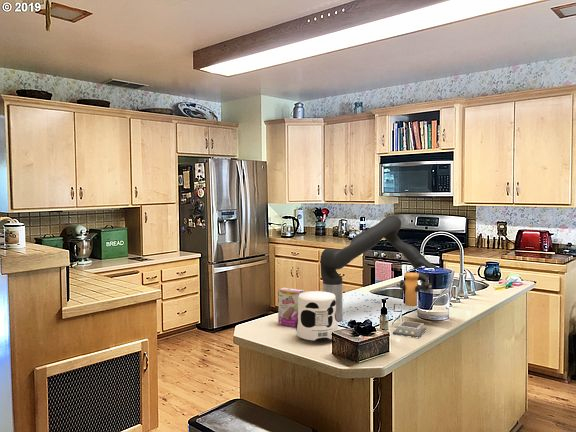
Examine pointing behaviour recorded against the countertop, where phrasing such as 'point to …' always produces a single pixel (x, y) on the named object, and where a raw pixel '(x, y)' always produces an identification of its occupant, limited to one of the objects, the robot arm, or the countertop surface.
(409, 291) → the orange flared cylinder
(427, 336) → the countertop surface
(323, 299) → the milk container
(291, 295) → the candy bar box
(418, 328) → the breaker panel
